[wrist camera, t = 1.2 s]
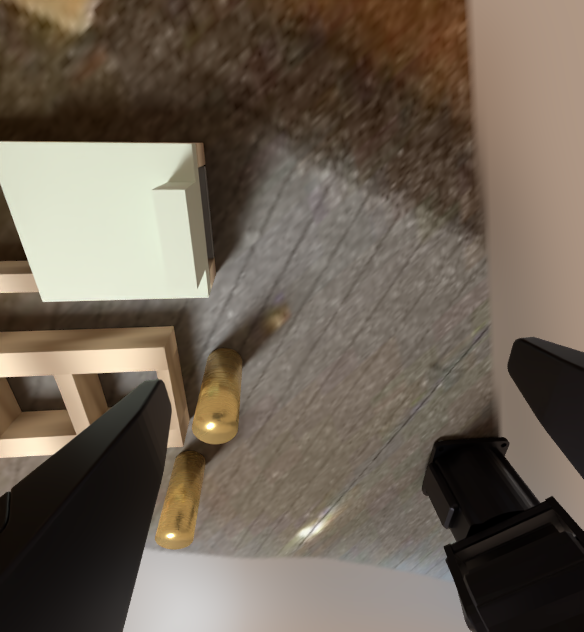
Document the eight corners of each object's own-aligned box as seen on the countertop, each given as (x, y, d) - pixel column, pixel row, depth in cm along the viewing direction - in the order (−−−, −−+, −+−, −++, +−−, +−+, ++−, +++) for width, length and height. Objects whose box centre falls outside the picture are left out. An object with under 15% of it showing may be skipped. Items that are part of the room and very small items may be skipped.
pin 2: (241, 347, 23) (236, 409, 18) (243, 376, 24) (239, 442, 19) (205, 348, 23) (189, 412, 18) (209, 377, 24) (195, 445, 19)
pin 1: (204, 450, 27) (190, 525, 22) (207, 470, 28) (195, 547, 23) (173, 452, 27) (152, 529, 22) (177, 472, 28) (158, 550, 23)
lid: (195, 143, 15) (179, 144, 12) (210, 289, 18) (201, 320, 15) (2, 141, 14) (-68, 142, 11) (53, 293, 18) (10, 326, 15)
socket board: (173, 326, 22) (164, 347, 20) (189, 419, 26) (183, 446, 23) (-28, 333, 21) (-62, 355, 19) (19, 429, 25) (-5, 458, 22)
